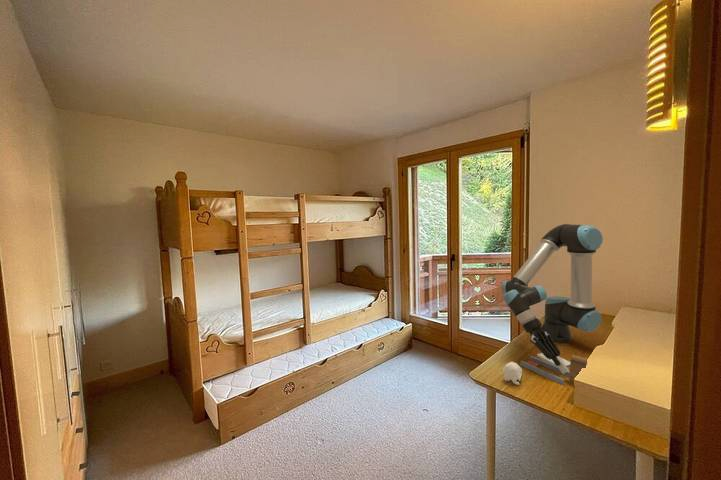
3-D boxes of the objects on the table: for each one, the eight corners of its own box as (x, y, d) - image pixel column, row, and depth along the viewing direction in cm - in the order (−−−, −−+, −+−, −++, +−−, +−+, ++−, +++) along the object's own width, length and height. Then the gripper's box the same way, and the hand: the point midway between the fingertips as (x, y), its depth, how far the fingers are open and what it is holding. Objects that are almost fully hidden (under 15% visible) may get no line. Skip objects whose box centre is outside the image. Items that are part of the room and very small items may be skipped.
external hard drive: (561, 370, 133) (536, 357, 145) (573, 366, 136) (548, 354, 148) (561, 366, 133) (536, 353, 145) (573, 363, 136) (549, 351, 148)
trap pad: (530, 361, 140) (530, 360, 140) (539, 365, 137) (539, 364, 136) (523, 364, 137) (523, 363, 137) (532, 368, 134) (532, 367, 134)
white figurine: (502, 362, 123) (511, 354, 132) (500, 381, 123) (510, 373, 132) (518, 367, 119) (527, 359, 127) (517, 388, 119) (525, 378, 127)
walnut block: (570, 379, 125) (572, 354, 124) (585, 383, 122) (587, 358, 121) (568, 384, 122) (570, 359, 121) (583, 389, 118) (585, 363, 117)
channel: (531, 359, 142) (531, 355, 141) (573, 378, 126) (574, 373, 126) (520, 365, 137) (520, 361, 136) (562, 384, 121) (563, 380, 121)
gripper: (531, 322, 142) (566, 371, 129) (515, 327, 135) (550, 379, 123) (543, 315, 137) (581, 365, 124) (527, 320, 130) (565, 374, 118)
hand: (566, 372), depth 124 cm, fingers closed
